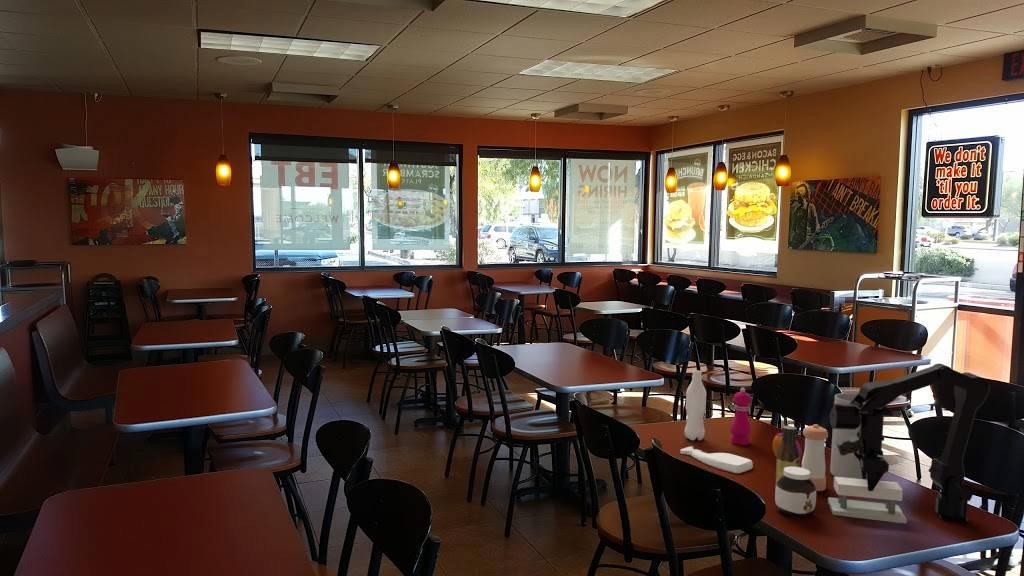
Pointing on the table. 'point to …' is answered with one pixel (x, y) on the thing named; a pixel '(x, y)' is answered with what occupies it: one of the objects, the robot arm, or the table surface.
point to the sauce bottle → (787, 451)
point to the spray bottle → (720, 460)
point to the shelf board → (861, 489)
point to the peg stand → (867, 509)
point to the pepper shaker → (815, 455)
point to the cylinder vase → (839, 464)
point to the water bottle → (695, 407)
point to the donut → (777, 443)
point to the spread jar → (795, 492)
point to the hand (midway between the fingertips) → (867, 485)
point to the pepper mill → (741, 419)
